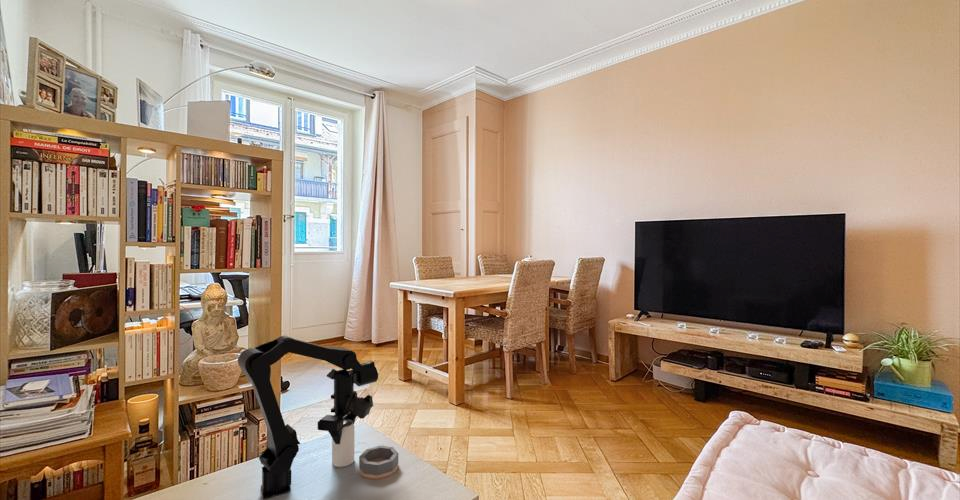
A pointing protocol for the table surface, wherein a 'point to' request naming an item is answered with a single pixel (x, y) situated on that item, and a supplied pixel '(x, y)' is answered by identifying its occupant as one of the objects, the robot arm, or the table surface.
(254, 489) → the table surface
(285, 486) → the robot arm
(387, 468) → the socket
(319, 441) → the table surface
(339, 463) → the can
